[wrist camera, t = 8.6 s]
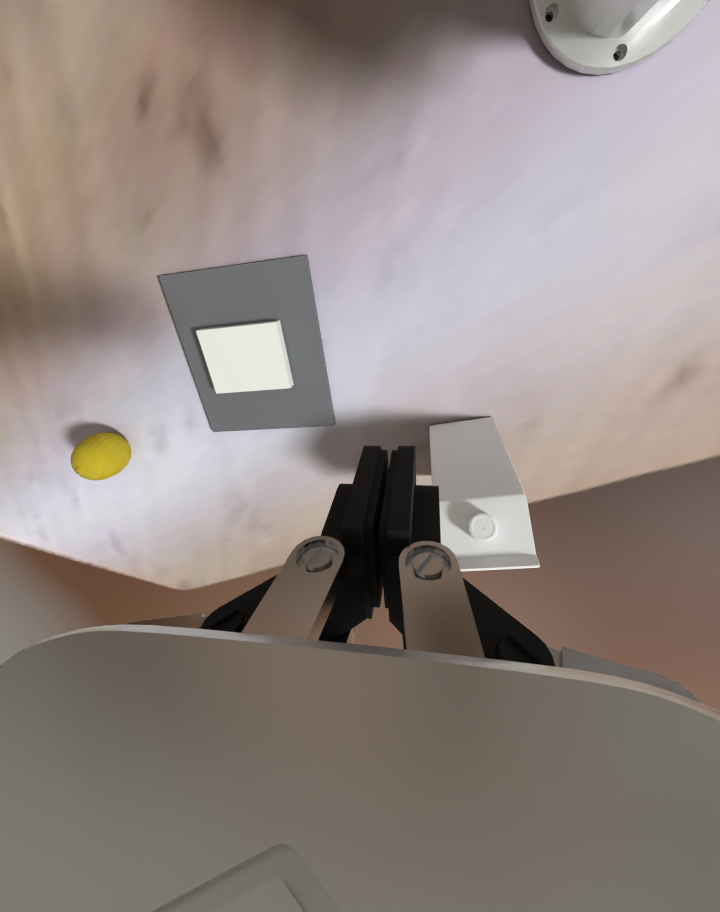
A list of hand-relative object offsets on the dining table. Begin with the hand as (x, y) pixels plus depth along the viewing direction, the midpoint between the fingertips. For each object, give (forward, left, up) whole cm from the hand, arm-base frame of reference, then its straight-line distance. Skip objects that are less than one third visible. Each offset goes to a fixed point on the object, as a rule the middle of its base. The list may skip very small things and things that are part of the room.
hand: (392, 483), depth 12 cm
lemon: (+12, -40, -30) cm, 51 cm away
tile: (+2, -13, -28) cm, 31 cm away
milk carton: (+15, +5, -30) cm, 33 cm away
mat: (+2, -18, -29) cm, 34 cm away
